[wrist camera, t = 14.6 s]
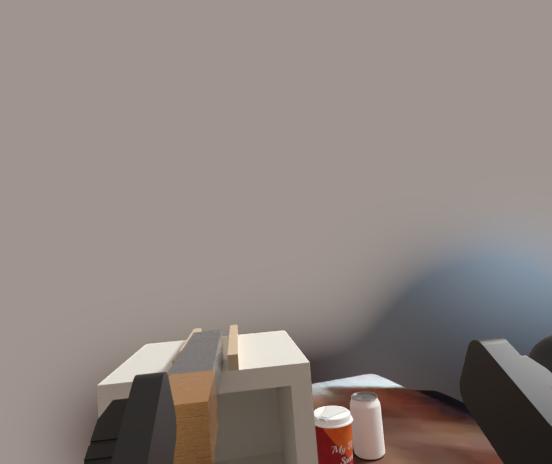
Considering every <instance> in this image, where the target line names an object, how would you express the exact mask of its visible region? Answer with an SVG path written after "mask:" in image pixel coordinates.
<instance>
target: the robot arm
mask: <svg viewBox="0 0 552 464" xmlns="http://www.w3.org/2000/svg"><path fill="white" fill-rule="evenodd" d="M460 391H461V396H462V398H463V401H464V403H465V405H466V407H467V408H468V410H469V411H470V413H471V414H472V416H473V418H474V419H475V421H476V422H477V424H478V425H479V427H480V428H481V430H482V431H483V433H484V434H485V436H486V437H487V439H488V440H489V442H490V443H491V445H492V446H493V448H494V449H495V451H496V452H497V454H498V456H499V457H500V459H501V460H502V462H503V463H504V464H552V336H549V337H546V338H545V339H543V340H541V341H540V342H538V343H537V344H536V345H535V346H534V347H533V349H532V351H531V352H530V354H529V356H526V355H524V356H521V355H520V354H519V353H518V352H517V351H516V350H515V349H514V348H513V347H512V346H511V345H510V343H509V342H508V341H506V340H505V339H503V338H490V339H480V340H473V341H471V342H470V344H469V346H468V350H467V355H466V358H465V363H464V366H463V370H462V375H461V379H460ZM176 432H177V424H176V413H175V407H174V402H173V397H172V392H171V387H170V382H169V377H168V374H167V372H158V373H149V374H139V375H135V377H134V379H133V382H132V386H131V390H130V393H129V397H128V398H126V399H117V400H112V402H111V403H110V404H109V406H108V407H107V408H106V409H105V411H104V412H103V413H102V415H101V416H100V417H99V418H98V420H97V423H96V426H95V430H94V432H93V436H92V438H91V444H90V446H89V447H88V450H87V453H86V456H85V459H84V464H173V461H174V452H175V444H176Z"/></svg>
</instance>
